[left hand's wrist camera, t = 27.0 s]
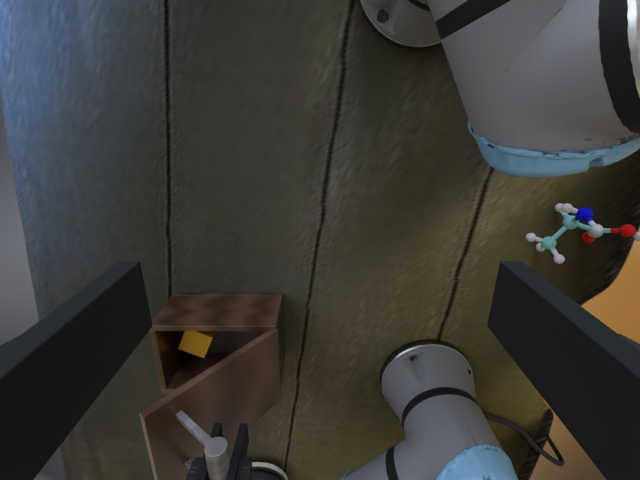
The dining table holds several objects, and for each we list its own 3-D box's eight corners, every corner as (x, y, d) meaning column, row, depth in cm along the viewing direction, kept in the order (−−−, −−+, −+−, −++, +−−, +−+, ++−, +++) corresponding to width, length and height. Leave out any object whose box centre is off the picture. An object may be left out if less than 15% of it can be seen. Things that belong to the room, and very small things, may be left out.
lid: (158, 495, 36) (204, 554, 32) (138, 412, 32) (187, 464, 28) (276, 395, 49) (321, 426, 45) (273, 327, 45) (322, 352, 40)
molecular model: (548, 290, 49) (602, 281, 40) (505, 235, 51) (547, 214, 42) (609, 248, 51) (675, 229, 41) (564, 197, 53) (618, 167, 43)
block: (187, 332, 55) (177, 349, 52) (195, 312, 54) (185, 327, 50) (212, 341, 56) (204, 358, 52) (220, 321, 55) (212, 337, 51)
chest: (184, 353, 58) (161, 394, 50) (174, 292, 54) (148, 325, 45) (285, 354, 58) (279, 394, 50) (282, 293, 54) (276, 326, 45)
